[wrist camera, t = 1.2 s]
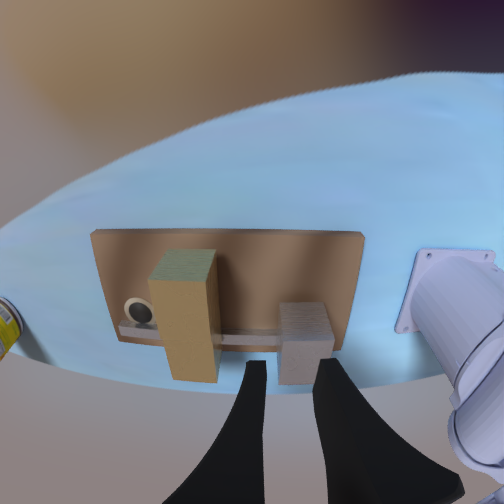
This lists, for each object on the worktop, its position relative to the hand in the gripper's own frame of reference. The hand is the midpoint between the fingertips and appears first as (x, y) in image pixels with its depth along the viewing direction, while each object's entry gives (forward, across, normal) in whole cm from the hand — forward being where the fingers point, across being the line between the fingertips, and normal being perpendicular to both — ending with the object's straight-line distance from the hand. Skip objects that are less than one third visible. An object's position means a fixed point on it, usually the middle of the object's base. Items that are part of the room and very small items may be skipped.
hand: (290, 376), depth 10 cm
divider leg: (+9, +5, +2) cm, 11 cm away
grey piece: (+9, +4, +4) cm, 11 cm away
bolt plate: (+10, +4, +3) cm, 12 cm away
